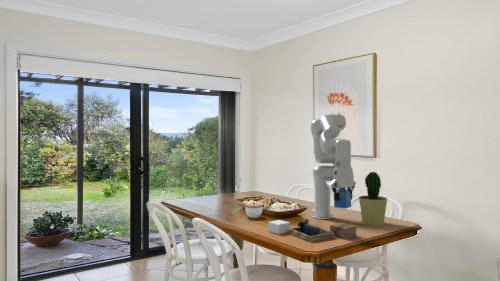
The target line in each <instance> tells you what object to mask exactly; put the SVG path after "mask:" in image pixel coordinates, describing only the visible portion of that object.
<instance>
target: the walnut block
mask: <svg viewBox="0 0 500 281" xmlns="http://www.w3.org/2000/svg"><path fill="white" fill-rule="evenodd" d="M329 229H330V230H329V231H331V232H334V233H335V238H339V239H343V240H347V239H350V238H354V237H356V236H357V225H355V224H350V223H345V222H338V223H334V224H330V225H329Z"/></svg>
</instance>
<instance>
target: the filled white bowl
mask: <svg viewBox="0 0 500 281" xmlns="http://www.w3.org/2000/svg"><path fill="white" fill-rule="evenodd" d="M244 207H245V208H244V209H245V213H246V215H247V217H248V218H250V219H258V218H259V217H260V216H261V215H262V213H263V204H262V203H259V202H255V201H253V202H249V203H245V205H244Z"/></svg>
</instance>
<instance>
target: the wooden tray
mask: <svg viewBox="0 0 500 281" xmlns="http://www.w3.org/2000/svg"><path fill="white" fill-rule="evenodd" d="M299 228H300V226H299V227H298V226H297V227H290V228H289V229H288V232H287V234H289V235H291V236H292V237H293V236H294V237H296V238H299V239H301V240H303V241H306V242H309V243H313V242H319V241H325V240H330V239H335V238H336V237H335V233H334V232H331V231H330V230H328V229H325V228H321V227H320V228H321V229H322V230H323V234H320V235H310V234H307V233H305V232H304V233H301V232H299V231H298V229H299Z"/></svg>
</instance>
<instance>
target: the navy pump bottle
mask: <svg viewBox="0 0 500 281" xmlns="http://www.w3.org/2000/svg"><path fill="white" fill-rule="evenodd" d="M309 220H310V219H309V218H307V219H305V220H302V221H301V220H299V221H298V223H297V227H300V228H299V229H298V231H299V232H301V233H304V234H308V235H311V236H314V235H320V234H323V230H322V229H323V228H322V229H321V227H320V226H316V225H313V224H309Z"/></svg>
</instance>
